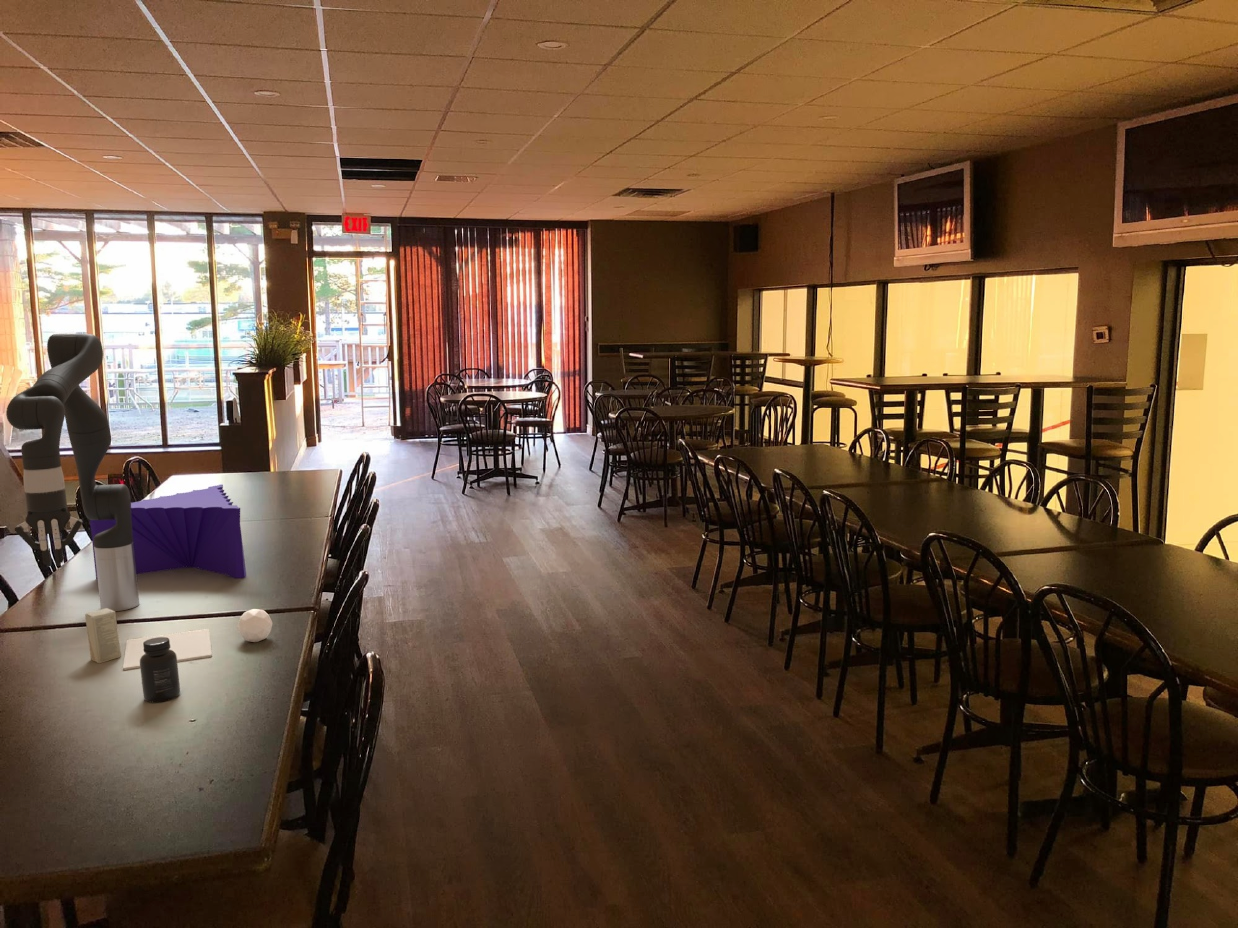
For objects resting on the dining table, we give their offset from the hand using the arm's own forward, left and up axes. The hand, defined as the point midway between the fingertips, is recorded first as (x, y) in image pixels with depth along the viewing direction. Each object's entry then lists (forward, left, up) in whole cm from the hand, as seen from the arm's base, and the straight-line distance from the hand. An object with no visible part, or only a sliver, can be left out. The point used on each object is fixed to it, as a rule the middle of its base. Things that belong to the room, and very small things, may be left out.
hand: (53, 565), depth 207 cm
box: (0, +8, -23) cm, 25 cm away
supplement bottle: (+30, +20, -23) cm, 43 cm away
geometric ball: (+3, +40, -23) cm, 46 cm away
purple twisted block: (-83, +29, -24) cm, 91 cm away
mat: (0, +21, -23) cm, 31 cm away
